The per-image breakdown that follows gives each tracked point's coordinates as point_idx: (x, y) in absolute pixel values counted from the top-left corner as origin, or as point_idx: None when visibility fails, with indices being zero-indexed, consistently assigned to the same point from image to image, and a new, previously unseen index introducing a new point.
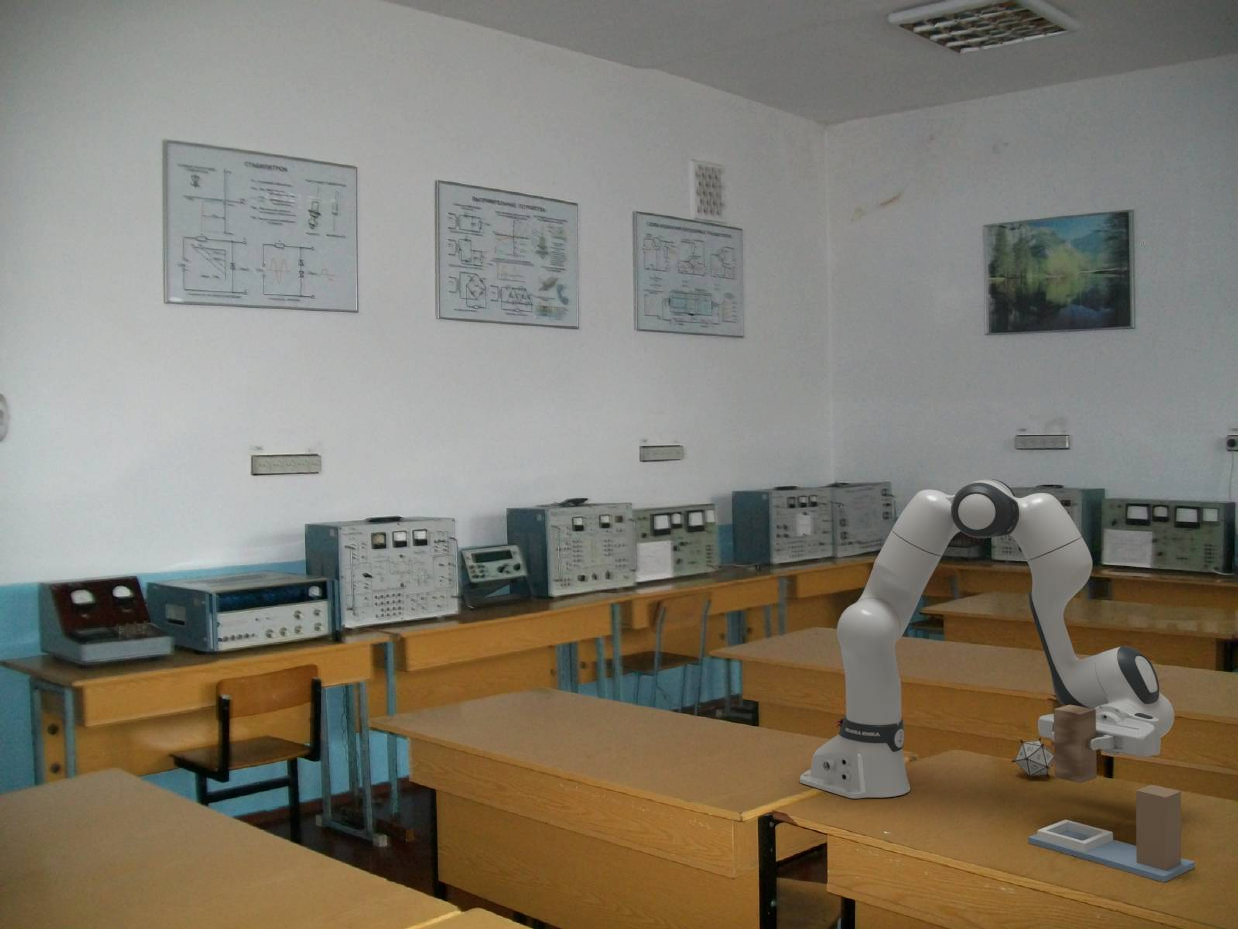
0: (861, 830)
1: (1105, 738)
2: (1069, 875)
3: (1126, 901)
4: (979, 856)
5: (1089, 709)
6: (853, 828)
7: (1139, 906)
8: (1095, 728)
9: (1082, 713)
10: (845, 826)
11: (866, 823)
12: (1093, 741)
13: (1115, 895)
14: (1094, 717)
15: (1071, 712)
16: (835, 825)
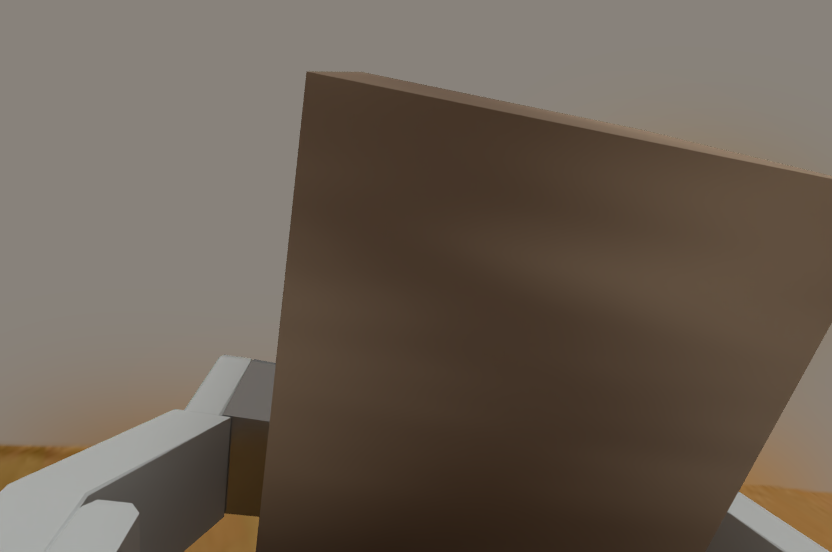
0: (764, 498)
1: (91, 450)
2: (230, 532)
3: (44, 460)
4: None
5: (400, 86)
6: (782, 499)
7: (7, 450)
8: (272, 411)
9: (357, 72)
10: (801, 499)
11: (826, 545)
12: (226, 355)
13: None
14: (299, 222)
15: (455, 91)
16: (811, 492)
